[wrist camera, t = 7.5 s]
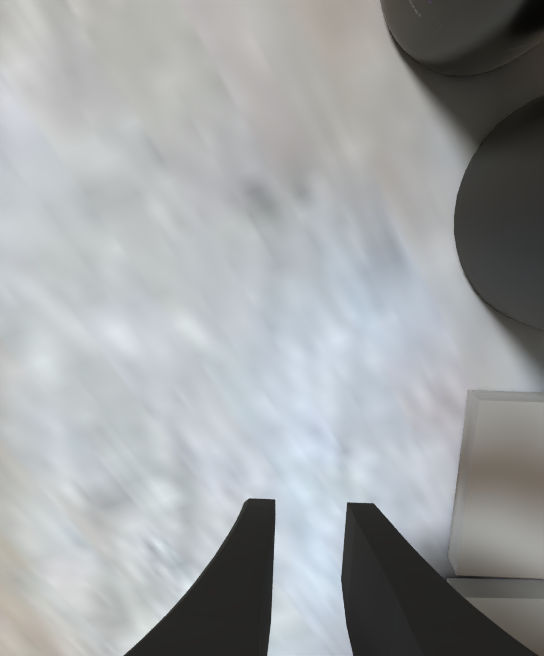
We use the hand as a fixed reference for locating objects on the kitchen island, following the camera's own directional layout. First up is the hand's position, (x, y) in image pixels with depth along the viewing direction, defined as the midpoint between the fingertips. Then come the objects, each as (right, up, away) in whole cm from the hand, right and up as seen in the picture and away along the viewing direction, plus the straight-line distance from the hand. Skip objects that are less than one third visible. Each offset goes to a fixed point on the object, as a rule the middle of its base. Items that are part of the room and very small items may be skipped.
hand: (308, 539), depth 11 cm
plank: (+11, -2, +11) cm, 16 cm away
